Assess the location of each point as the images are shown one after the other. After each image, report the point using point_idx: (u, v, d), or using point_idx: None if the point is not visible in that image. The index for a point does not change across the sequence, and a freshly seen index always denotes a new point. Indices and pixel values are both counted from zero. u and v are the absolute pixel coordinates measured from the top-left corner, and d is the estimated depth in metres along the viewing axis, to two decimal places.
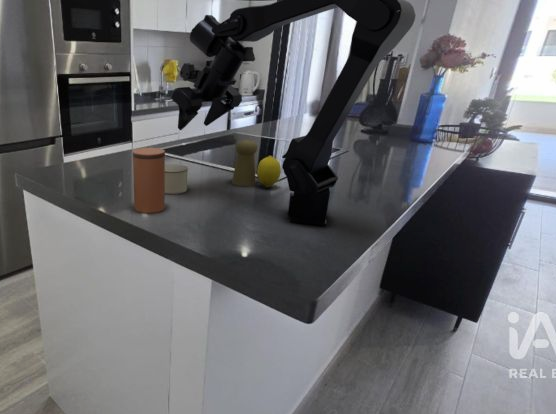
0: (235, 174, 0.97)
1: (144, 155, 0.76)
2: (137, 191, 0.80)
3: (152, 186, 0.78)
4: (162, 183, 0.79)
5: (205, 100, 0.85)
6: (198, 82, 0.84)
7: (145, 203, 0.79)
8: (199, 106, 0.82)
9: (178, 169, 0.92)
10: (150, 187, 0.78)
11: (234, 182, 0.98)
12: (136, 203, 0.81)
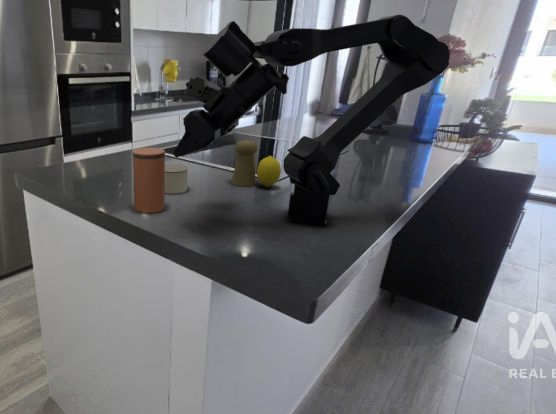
0: (235, 174, 0.97)
1: (144, 155, 0.76)
2: (137, 191, 0.80)
3: (152, 186, 0.78)
4: (162, 183, 0.79)
5: None
6: (211, 104, 0.67)
7: (145, 203, 0.79)
8: None
9: (178, 169, 0.92)
10: (150, 187, 0.78)
11: (234, 182, 0.98)
12: (136, 203, 0.81)
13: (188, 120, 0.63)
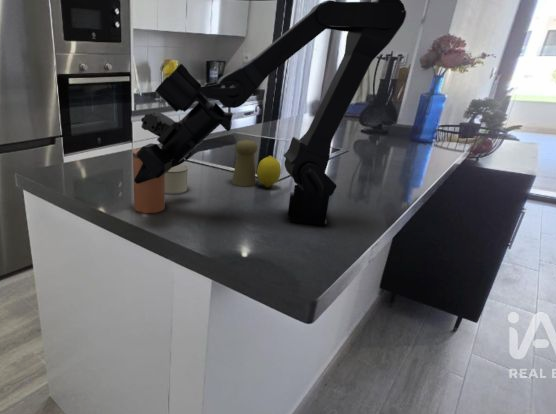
0: (235, 174, 0.97)
1: None
2: (137, 191, 0.80)
3: (152, 186, 0.78)
4: (162, 183, 0.79)
5: (172, 157, 0.75)
6: (164, 137, 0.73)
7: (145, 203, 0.79)
8: (168, 169, 0.71)
9: (178, 169, 0.92)
10: (150, 187, 0.78)
11: (234, 182, 0.98)
12: (136, 203, 0.81)
13: (140, 154, 0.69)
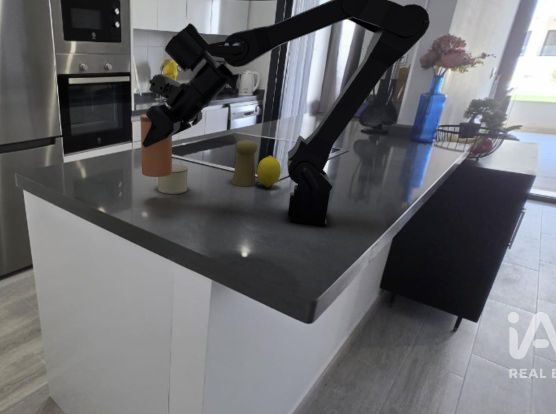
0: (235, 174, 0.97)
1: None
2: (144, 155, 0.81)
3: (159, 150, 0.79)
4: (170, 147, 0.80)
5: (179, 119, 0.76)
6: (172, 99, 0.74)
7: (153, 167, 0.80)
8: (177, 129, 0.72)
9: (178, 169, 0.92)
10: (158, 150, 0.79)
11: (234, 182, 0.98)
12: (144, 168, 0.82)
13: (150, 114, 0.70)
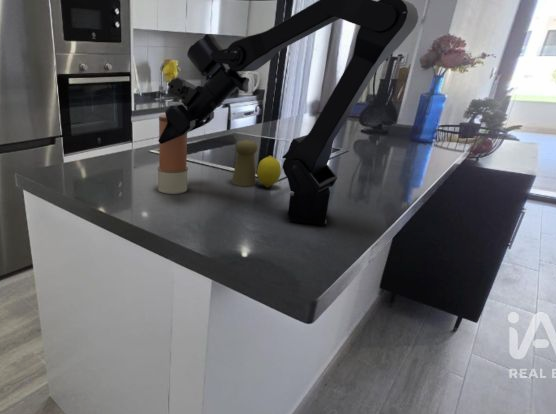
0: (235, 174, 0.97)
1: None
2: (162, 152, 0.89)
3: (176, 147, 0.88)
4: (185, 144, 0.89)
5: None
6: (188, 100, 0.83)
7: (170, 162, 0.89)
8: (193, 127, 0.81)
9: None
10: (175, 147, 0.88)
11: (234, 182, 0.98)
12: (161, 163, 0.91)
13: (169, 113, 0.79)
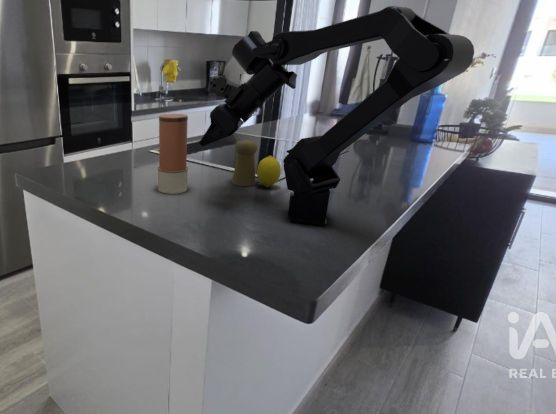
0: (235, 174, 0.97)
1: (170, 118, 0.86)
2: (162, 152, 0.89)
3: (176, 147, 0.88)
4: (185, 144, 0.89)
5: None
6: (232, 99, 0.79)
7: (170, 162, 0.89)
8: None
9: None
10: (175, 147, 0.88)
11: (234, 182, 0.98)
12: (161, 163, 0.91)
13: (215, 114, 0.75)
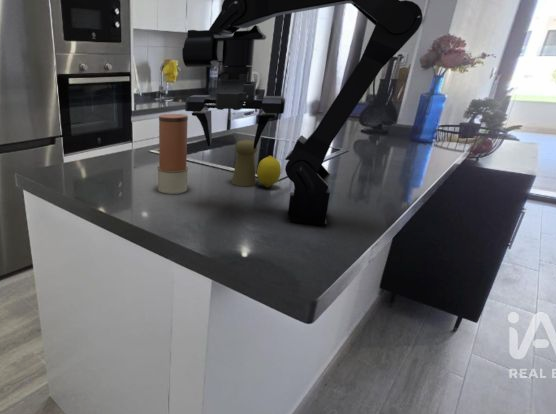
0: (235, 174, 0.97)
1: (170, 118, 0.86)
2: (162, 152, 0.89)
3: (176, 147, 0.88)
4: (185, 144, 0.89)
5: None
6: None
7: (170, 162, 0.89)
8: None
9: None
10: (175, 147, 0.88)
11: (234, 182, 0.98)
12: (161, 163, 0.91)
13: (283, 109, 0.70)
